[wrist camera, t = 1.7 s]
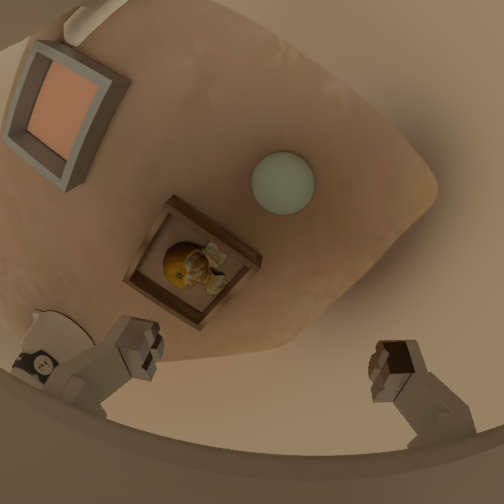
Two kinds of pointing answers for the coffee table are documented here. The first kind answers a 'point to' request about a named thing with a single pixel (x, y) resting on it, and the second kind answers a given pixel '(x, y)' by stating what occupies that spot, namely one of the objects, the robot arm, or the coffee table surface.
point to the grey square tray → (61, 111)
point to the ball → (282, 183)
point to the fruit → (194, 267)
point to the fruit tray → (214, 236)
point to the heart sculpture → (52, 18)
